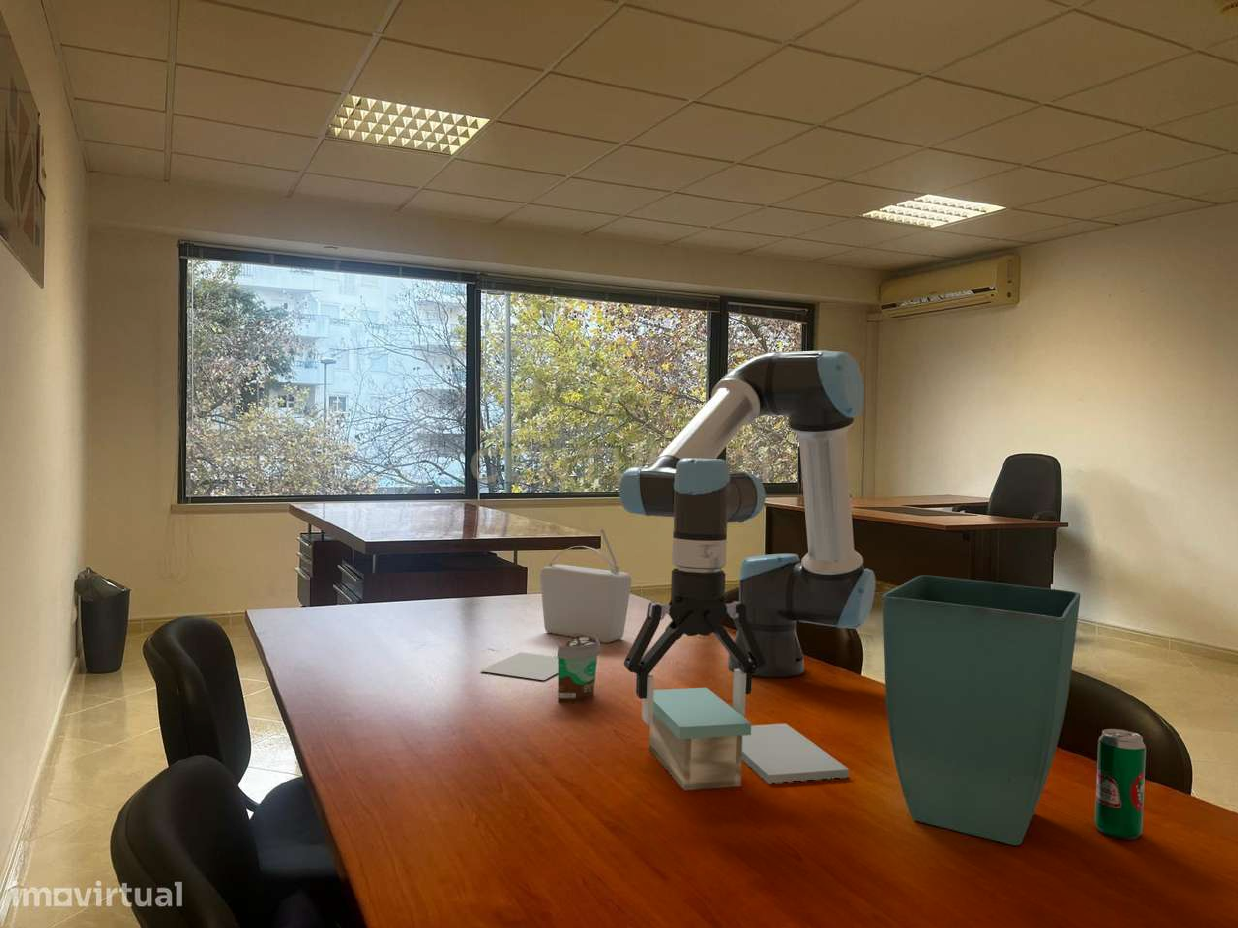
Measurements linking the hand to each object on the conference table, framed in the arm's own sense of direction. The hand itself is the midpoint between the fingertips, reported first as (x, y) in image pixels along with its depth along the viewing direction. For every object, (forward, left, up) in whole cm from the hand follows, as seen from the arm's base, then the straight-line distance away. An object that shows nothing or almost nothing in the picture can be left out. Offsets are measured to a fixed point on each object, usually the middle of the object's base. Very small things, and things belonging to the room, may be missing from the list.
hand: (693, 718), depth 126 cm
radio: (-3, -83, -7) cm, 84 cm away
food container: (+8, -36, -7) cm, 38 cm away
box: (0, 0, -7) cm, 7 cm away
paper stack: (+15, -63, -7) cm, 65 cm away
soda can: (-44, +30, -7) cm, 54 cm away
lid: (0, 0, 0) cm, 0 cm away
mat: (-14, -2, -7) cm, 16 cm away
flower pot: (-29, +23, -7) cm, 38 cm away
